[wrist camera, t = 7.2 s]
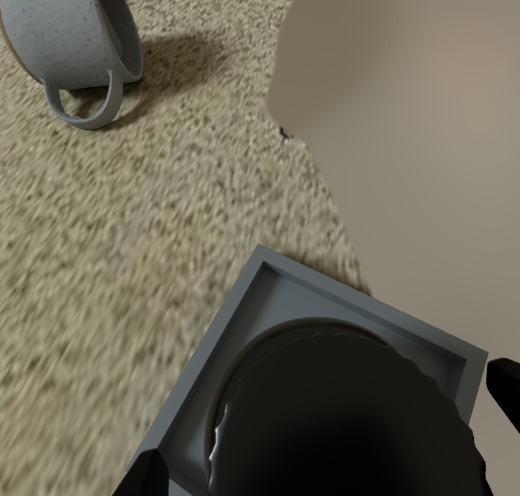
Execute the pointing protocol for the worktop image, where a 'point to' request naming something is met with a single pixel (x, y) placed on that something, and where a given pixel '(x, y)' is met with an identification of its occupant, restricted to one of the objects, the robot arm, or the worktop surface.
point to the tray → (275, 312)
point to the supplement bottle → (334, 420)
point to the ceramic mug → (75, 49)
